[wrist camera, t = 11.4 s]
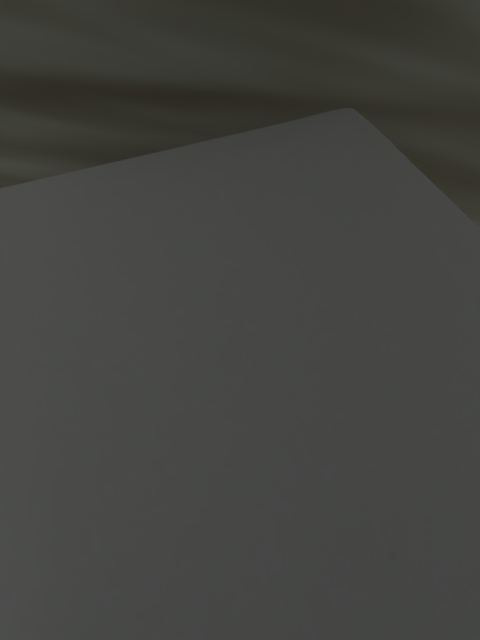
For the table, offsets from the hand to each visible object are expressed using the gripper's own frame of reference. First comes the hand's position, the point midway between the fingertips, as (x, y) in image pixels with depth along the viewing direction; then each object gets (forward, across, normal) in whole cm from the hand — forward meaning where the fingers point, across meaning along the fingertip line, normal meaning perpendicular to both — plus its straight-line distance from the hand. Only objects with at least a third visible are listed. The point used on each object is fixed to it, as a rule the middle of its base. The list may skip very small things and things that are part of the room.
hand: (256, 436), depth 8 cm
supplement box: (+4, 0, +7) cm, 8 cm away
